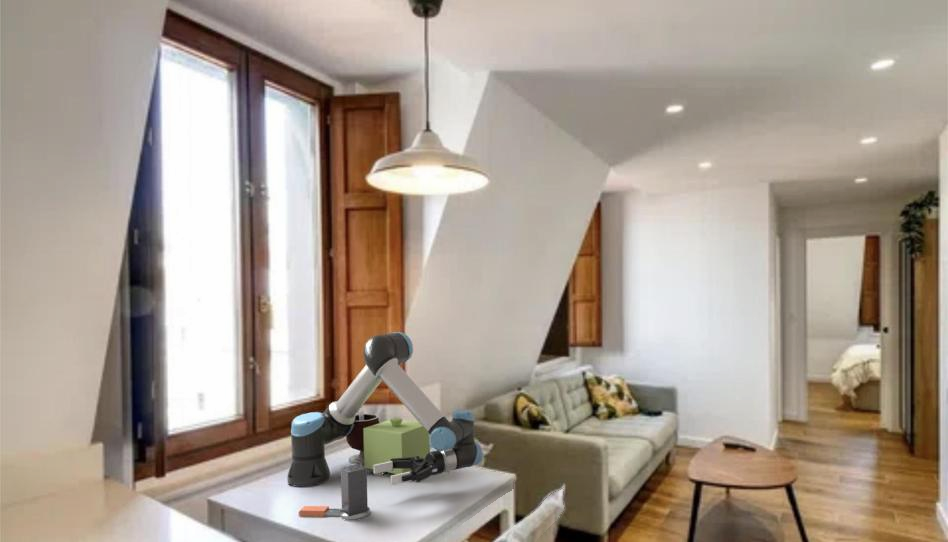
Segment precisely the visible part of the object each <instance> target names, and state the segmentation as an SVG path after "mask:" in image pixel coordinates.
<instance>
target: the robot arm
mask: <svg viewBox="0 0 948 542" xmlns="http://www.w3.org/2000/svg"><path fill="white" fill-rule="evenodd" d="M362 350H363V351H362V357H363V360H364V363H365V366H364V367H363V368H362V369H361V370H360V372H359V373H358V374H357V376H356V377H355V378H354V379H353V381H352V382H351V383H350V385H349V386H348V387H347V388H346V390H345V391H344V392H343V393H342V395H341V396H340V398H339V399H338V400H337V401H332V402H331V403H329V405H328V406H327V408H326V409H325V411H323V412H319V411H315V412H314V411H313V412H308V413H302V414H300V415H298V416H295V418H293V420H292V421H291V429H290V436H291V437H290V439H291V440H290V441H291V463H290V465H289V470H288V474H287V477H286V480H287V482H288V483H289V484H291V485H295V486H294V487H298V486H303V487H312V486H316V485H320V484H323V483H325V482H328V480H330V478H331V472H330V467H329V465H328V462H327V459H326V455H325V453H326V452H325V447H326V445H329V444H331V443H333V442H336V441H340V440H342V439H344V438H346V436H347V435H348V434H349V433H350V432H351V431H352V429H353V426H354V424H353V423H354V421H355V415H357V413H358V412H359V411H360V408H361V407H362V406H363V405H364V404H365V403H366V401H367V400H368V399H369V397H370V396H372V394H373V393H374V391H376V389H377V388H378V386H379V385H380V384H381V382H383V383H384V384H385V385H386V386H387V387H388V388H389V390H390V391H391V392H392V393H393V394H394V395H395V396H396V398H397V399H398V400H399V401H400V402H401V403H402V404H403V405H404V407H405V408H406V409H407V410H408V411H409V412H410V414H411V415H412V416H413V417H414V418H415V419H416V421H418V423H420V424H421V425H422V426H423V427H424V428H425V429H426V431H427V432H428V433H429V436H430V446H431V447H432V448H433V449H434V450H432V451H430V452H429V453H428V454H427V455H426V458H425V459H423V458H419V456H416V457H407V458H392V459H390V460H391V461H390V462H385V463H380V464H376V465H373V468H374V469H373V474H374V475H375V474H376V473H381V472H385V471H390V470H391V471H393V469H411V472H405V473H401V474H397V475H394V474H393V475H390V486H395V485H400V484H403V483H407V482H411V481H412V482H416V483H421V482H422V481H424V480H426V479H428V478H429V477H431V476H436V475H440V474H443V473H448V474H449V473H450V472H452V471H455V470H460V469H464V468H471V467H473V466H476V465H478V464H480V463H481V462H482V461H483V457H484V456H483V451H482V447H481V444H479V443H477V442H475V441H476V439H475V418H474V412H473V411H472V410H470V409H458V410H454V411H453V413H452V414H451V415H452V418H451V419H452V420H451V421H450V420H449V419H447V417H446V416H445V415H444V414H443V413H442V412H441V411H440V410H439V409H438V408H437V406H436V405H435V404H434V403H433V402H432V401H431V399H430V398H429V397H428V396H427V395H426V394H425V393H424V391H422V389H421V388H420V387H419V386H418V384H416V382H415V381H414V380H413V379H412V378H411V377H410V376H409V375H408V373H406V371H405V370H404V369H403V368H402V367H401V364H403V363H406V362H408V360H409V361H410V359H411V358H412V355H413V354H414V348H413V343H412V340H411V338H410V337H409V336H408V335H407V334H406V333H404V332H402V331H401V332H400V331H398V332H397V331H393V332H388V333H382V334H376V335H373V336H372V337H370V338H368V340H367V341H366V342H365V344H364V346H363V349H362ZM385 473H386V472H385ZM288 483H287V484H288ZM289 484H288V485H289ZM291 485H290V486H291Z"/></svg>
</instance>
